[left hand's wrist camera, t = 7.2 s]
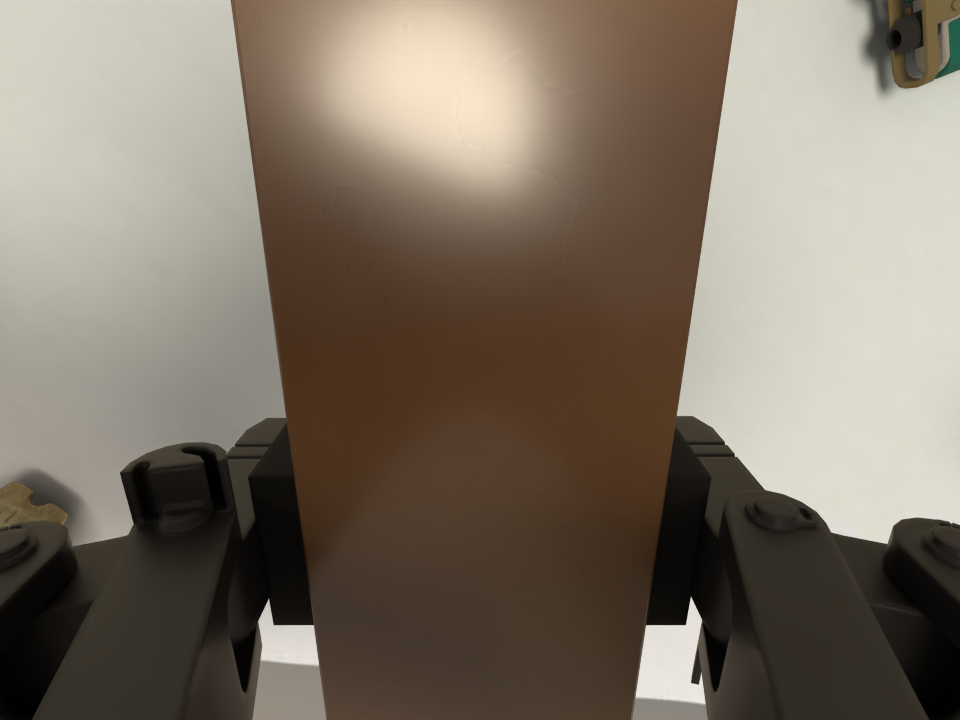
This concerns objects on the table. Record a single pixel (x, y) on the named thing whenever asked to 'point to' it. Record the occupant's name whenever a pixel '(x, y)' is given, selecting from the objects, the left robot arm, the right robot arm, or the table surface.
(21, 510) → the sculpture
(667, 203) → the bar
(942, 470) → the table surface
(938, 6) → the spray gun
